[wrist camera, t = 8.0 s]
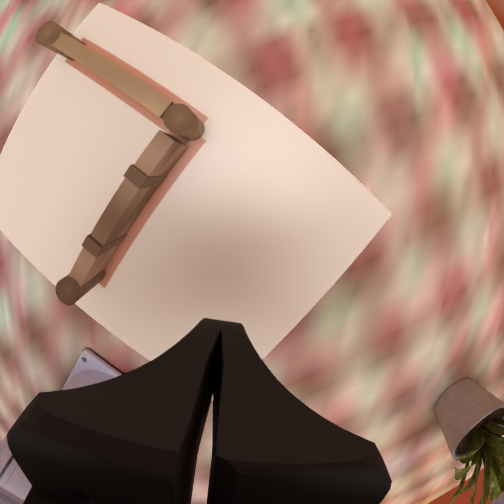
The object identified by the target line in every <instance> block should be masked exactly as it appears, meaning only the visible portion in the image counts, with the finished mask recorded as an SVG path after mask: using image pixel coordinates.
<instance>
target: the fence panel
mask: <svg viewBox="0 0 504 504" xmlns="http://www.w3.org/2000/svg"><path fill="white" fill-rule="evenodd" d="M187 148H188V146H186V145H185V144H184V143H183V142H181V141H180V140H179V139H177V138H176V137H174V136H172V135H170V134H167V133H165V132H163V131H161V130H159V131H158V132H157V134H156V135H155V136H154V138H153V139H152V140H151V142H150V143H149V144H148V146H147V147H146V148H145V150H144V151H143V153H142V154H141V155H140V157H139V158H138V160H137V161H136V163H135V164H131V165H130V166H129V168H128V169H127V171H126V172H125V174H124V175H123V176H124V177H125V179H124V180H123V182H122V183H121V185H120V186H119V188H118V189H117V191H116V192H115V194H114V196H113V197H112V199H111V200H110V202H109V204H108V205H107V207H106V208H105V210H104V212H103V213H102V215H101V217H100V218H99V220H98V222H97V224H96V225H95V227H94V229H93V230H92V232H91V234H89V235H87V236H86V238H85V240H84V241H83V243H82V245H81V246H83V249H82V250H81V252H80V254H79V256H78V258H77V260H76V262H75V264H74V266H73V268H72V270H71V272H70V274H69V275H67V276H65V277H64V278H62V279H61V280H59V281H58V282H57V284H56V294H57V296H58V298H59V299H60V301H61V302H63V303H64V304H66V305H73V304H74V303H75V302H77V301H78V300H79V299H80V298H81V297H83V296H84V295H85V294H86V293H87V292H89V291H90V290H91V289H92V288H93V287H95V286H96V285H97V284H98V283H100V282H101V281H102V280H103V279H104V277H105V267H106V266H107V264H108V262H109V261H110V259H111V257H112V256H113V254H114V252H115V251H116V249H117V248H118V246H119V244H120V243H121V242H122V241H123V240H124V238H125V236H126V235H127V232H128V230H129V229H130V227H131V226H132V224H133V223H134V221H135V220H136V218H137V217H138V215H139V214H140V212H141V211H142V209H143V208H144V206H145V205H146V204H147V202H148V201H149V199H150V198H151V196H152V195H153V194H154V192H155V191H156V189H157V188H158V187H159V185H161V184H162V182H163V181H164V180H165V178H166V177H167V174H168V173H169V172H170V170H171V169H172V168H173V166H174V165H175V164H176V162H177V161H178V160H179V158H180V157H181V156H182V154H183V153H184V152H185V151H186V149H187Z"/></svg>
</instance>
